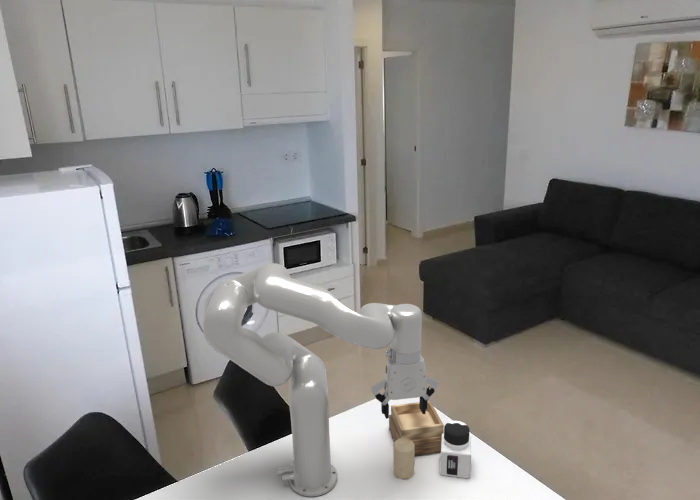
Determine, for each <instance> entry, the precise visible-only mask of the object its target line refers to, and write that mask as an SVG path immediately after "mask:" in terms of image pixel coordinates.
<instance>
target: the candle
mask: <svg viewBox="0 0 700 500" xmlns="http://www.w3.org/2000/svg"><path fill="white" fill-rule="evenodd" d="M392 446H393V448H392V450H393V452H392V453H393V455H392V456H393V463H392V464H393V466H392V467H393V474H394V475H395V477H396V478H398V479H401V480H408V479H410V478H412V477H413V476H414V474H415V456H414V450H415V445H414V443H413V442H412V441H411V440H410V439H407V438H405V437H401V438H399V439H398V440H396V441H395V442H394V441H393V444H392Z"/></svg>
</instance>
